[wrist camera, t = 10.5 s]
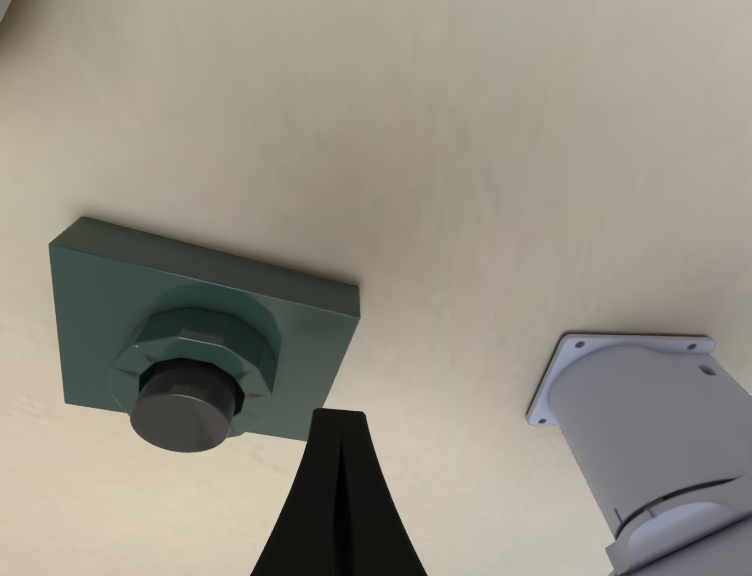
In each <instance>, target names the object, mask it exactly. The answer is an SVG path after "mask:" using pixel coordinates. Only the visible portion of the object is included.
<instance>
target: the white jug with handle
mask: <svg viewBox="0 0 752 576" xmlns="http://www.w3.org/2000/svg"><path fill="white" fill-rule="evenodd" d="M11 1H12V0H0V22H1V20H2V18H3V16H4V14H5V12H6V10H7V9H8V7H9V5H10V3H11Z"/></svg>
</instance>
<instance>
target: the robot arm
mask: <svg viewBox="0 0 752 576" xmlns="http://www.w3.org/2000/svg"><path fill="white" fill-rule="evenodd" d="M578 342H579V343H578ZM715 345H716V343H715V342H714V341H713V340H712V339H711V338H709V337H679V336H636V335H592V334H568V335H566V336H564V337H563V338H562V340H561V341H560V343H559V346H558V348H557V350H556V352H555V355H554V357H553V359H552V361H551V363H550V366H549V368H548V370H547V372H546V374H545V377H544V379H543V381H542V383H541V386H540V388H539V390H538V392H537V394H536V397H535V399H534V401H533V403H532V405H531V408H530V410H529V412H528V414H527V417H526V419H527V422H528V424H530V425H559V427H560V429H561V431H562V433H563V435H564V437H565V439H566V441H567V443H568V445H569V447H570V449H571V451H572V453H573V455H574V457H575V459H576V461H577V463H578V465H579V467H580V469H581V471H582V473H583V475H584V477H585V479H586V481H587V484H588V486H589V488H590V490H591V492H592V494H593V496H594V498H595V500H596V502H597V504H598V506H599V508H600V510H601V512H602V514H603V516H604V518H605V520H606V522H607V524H608V526H609V528H610V530H611V532H612V534H613V536H614V538H615V540H616V541H615V542H614V543H612V544H611V545H609V546H608V547H606V548H605V550H606V553H607V555H608V557H609V559H610V561H611V563H612V565H613V568H614V570H613V571H612V572H611V573H610V574H609V576H752V397H751V396H750V395H749V394H748V393H747V392H746V391H745V390H744V389H743V388H742V387H741V386H740V385H739V384H738V383H737V382H736V381H735V380H734V379H733V378H732V377H731V376H730V375H729V374H728V373H727V372H726V371H725V370H724V369H723V368H722V367H721V366H720V365H719V364H718V363H717V362H716V361H715V360H714V359H713V358H712V357H711V356H710V355H709V354H710V353H711V351H712V350H713V349H714V347H715ZM250 576H428V575H427V574H426V572H425V570H424V568H423V566H422V564H421V562H420V560H419V558H418V556H417V554H416V552H415V550H414V548H413V546H412V543H411V541H410V539H409V537H408V535H407V533H406V530H405V528H404V526H403V524H402V521H401V519H400V517H399V514H398V512H397V510H396V507H395V505H394V502H393V500H392V498H391V495H390V492H389V490H388V487H387V484H386V482H385V479H384V476H383V474H382V471H381V468H380V465H379V462H378V459H377V456H376V453H375V450H374V446H373V443H372V440H371V436H370V432H369V428H368V424H367V420H366V415H365V414H364V413H363V412H361V411H349V410H338V409H326V408H317V409H315V410H313V414H312V420H311V425H310V431H309V436H308V441H307V444H306V448H305V451H304V454H303V457H302V460H301V463H300V466H299V468H298V471H297V474H296V477H295V479H294V482H293V485H292V487H291V490H290V492H289V494H288V497H287V499H286V501H285V504H284V506H283V508H282V511H281V513H280V515H279V518H278V520H277V522H276V524H275V526H274V529H273V531H272V533H271V535H270V537H269V539H268V541H267V543H266V545H265V547H264V549H263V551H262V553H261V555H260V557H259V559H258V561H257V563H256V565H255V567H254V569H253V571H252V573H251V575H250Z"/></svg>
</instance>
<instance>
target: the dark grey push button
mask: <svg viewBox="0 0 752 576" xmlns="http://www.w3.org/2000/svg"><path fill="white" fill-rule="evenodd" d="M238 397H239V389H238V385H237V383H236V381H235V380H234V378H233V377H232V376H231V375H230V374H229V373H227V372H225V371H224V370H222V369H221V368H219V367H217V366H216V365H214V364H212V363H208V362H203V361H198V360H193V359H187V358H178V359H172V360H169V361H166V362H163V363H161V364H160V365H158V366H157V367H155V368H154V369H153V370H152V372H151V373H150V375H149V377H148V379H147V381H146V383H145V385H144V387H143V389H142V390H141V392H140V394H139V396H138V398H137V400H136V402H135V404H134V406H133V408H132V410H131V413H130V422H131V425H132V427H133V429H134V430H135V432H136V433H137V434H138V435H139V436H140V437H141V438H143V439H144V440H146V441H147V442H149V443H151V444H153V445H155V446H157V447H160V448H163V449H166V450H170V451H175V452H185V453H192V452H201V451H206V450H209V449H212V448H214V447H216V446H218V445H219V444H221V443H222V442H223V441H224V440H225V439H226V437H227V436H228V433H229V430H230V427H231V423H232V419H233V416H234V412H235V408H236V405H237V401H238Z"/></svg>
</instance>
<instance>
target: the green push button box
mask: <svg viewBox="0 0 752 576" xmlns="http://www.w3.org/2000/svg"><path fill="white" fill-rule="evenodd" d="M49 254H50V264H51V274H52V283H53V293H54V303H55V313H56V322H57V332H58V342H59V351H60V361H61V371H62V380H63V390H64V400H65V403H66V404H72V405H78V406H85V407H91V408H97V409H104V410H110V411H116V412H123V413H127V414H128V415H129V416H130V413H131V410H132V408H133V406H134V404H135V402H136V400H137V398H138V396H139V394H140V392H141V390H142V389H143V387H144V385H145V383H146V381H147V379H148V377H149V375H150V373H151V372H152V370H153V369H154V368H155V367H157V366H158V365H160V364H161V363H163V362H166V361H169V360H172V359H178V358H187V359H193V360H198V361H203V362H208V363H212V364H214V365H216V366H217V367H219V368H221V369H222V370H224V371H225V372H227V373H229V374H230V375H231V376H232V377H233V378H234V380H235V381H236V383H237V385H238V389H239V397H238V401H237V405H236V408H235V412H234V416H233V419H232V423H231V427H230V430H229V433H228V436H227V437H226V438H229V437H235V436H239V435H242V434H243V433H245V432H250V433H256V434H263V435H269V436H275V437H282V438H288V439H295V440H301V441H308V436H309V431H310V425H311V420H312V414H313V410H315V409H317V408H323V405H324V403H325V401H326V398H327V396H328V393H329V391H330V389H331V386H332V384H333V382H334V379H335V377H336V375H337V372H338V370H339V367H340V365H341V363H342V360H343V358H344V356H345V353H346V351H347V349H348V346H349V344H350V341H351V339H352V337H353V334H354V332H355V330H356V327H357V325H358V323H359V320H360V295H359V287H355V286H351V285H347V284H343V283H339V282H335V281H332V280H328V279H324V278H320V277H316V276H312V275H308V274H304V273H300V272H296V271H292V270H288V269H284V268H281V267H277V266H273V265H269V264H265V263H261V262H257V261H253V260H249V259H245V258H241V257H237V256H233V255H230V254H226V253H222V252H218V251H214V250H210V249H206V248H202V247H198V246H194V245H190V244H186V243H183V242H179V241H175V240H171V239H167V238H163V237H159V236H155V235H151V234H147V233H143V232H139V231H135V230H132V229H128V228H124V227H120V226H116V225H112V224H108V223H104V222H100V221H96V220H92V219H88V218H84V217H80V218H79V219H78V220H77V221H75V222H74V223H73V224H72V225H71V226H69V227H68V228H67V229H66V230H65V231H63V232H62V233H61V234H60V235H59V236H57V237H56V238H55V239H54V240H52V241H51V242H50V243H49Z"/></svg>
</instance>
